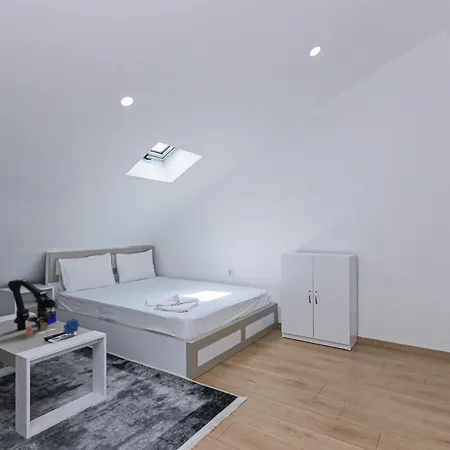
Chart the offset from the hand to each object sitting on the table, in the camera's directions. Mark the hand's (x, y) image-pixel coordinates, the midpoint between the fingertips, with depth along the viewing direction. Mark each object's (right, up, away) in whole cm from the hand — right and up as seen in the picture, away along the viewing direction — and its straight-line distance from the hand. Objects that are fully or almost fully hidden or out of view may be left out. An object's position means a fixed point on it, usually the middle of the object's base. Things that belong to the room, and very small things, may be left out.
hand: (42, 327), depth 271 cm
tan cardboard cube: (0, -1, 0) cm, 1 cm away
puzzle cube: (-6, -2, +18) cm, 19 cm away
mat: (+1, -2, +1) cm, 2 cm away
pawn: (0, -1, -18) cm, 18 cm away
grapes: (+29, -1, -14) cm, 32 cm away
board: (+5, -2, -10) cm, 11 cm away
